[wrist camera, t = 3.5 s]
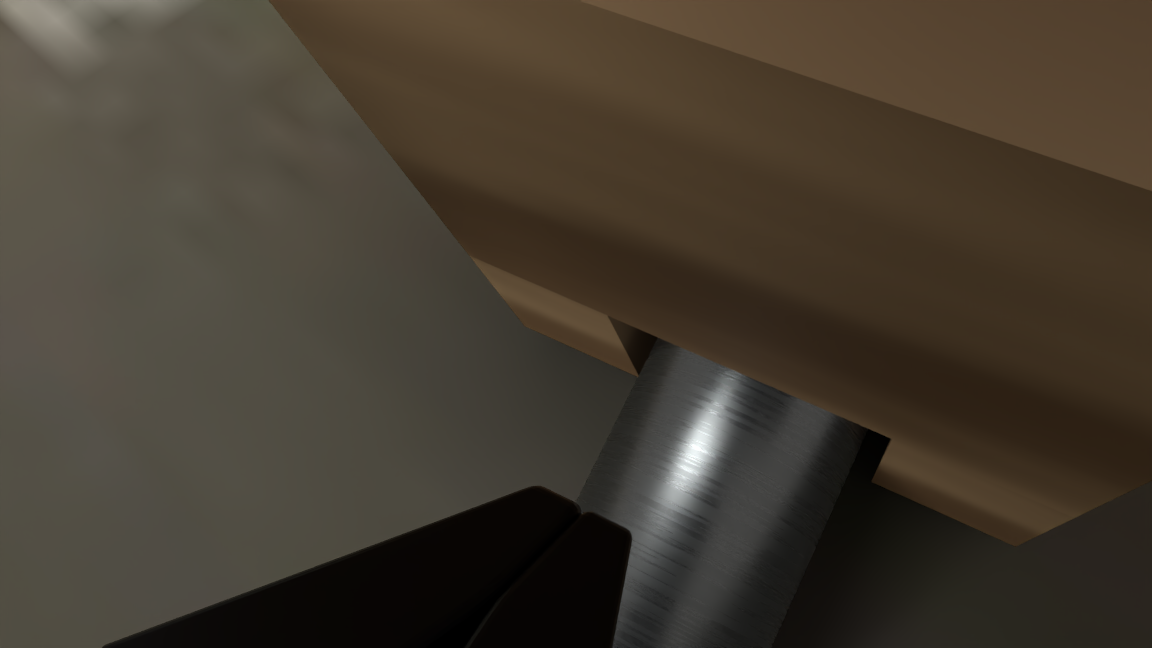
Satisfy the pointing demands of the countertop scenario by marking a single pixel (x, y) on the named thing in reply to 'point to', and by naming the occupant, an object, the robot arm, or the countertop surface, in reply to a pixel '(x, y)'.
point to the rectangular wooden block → (809, 208)
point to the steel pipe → (715, 500)
